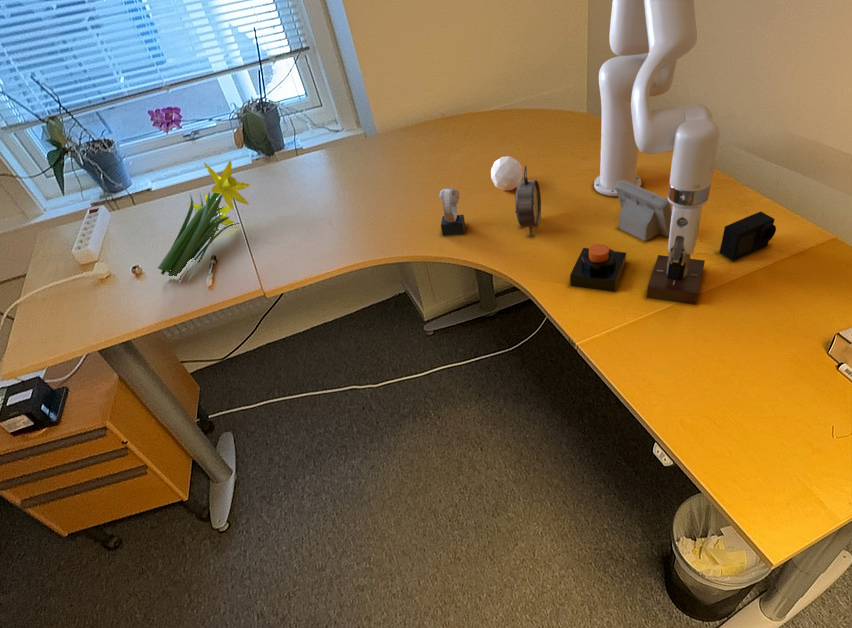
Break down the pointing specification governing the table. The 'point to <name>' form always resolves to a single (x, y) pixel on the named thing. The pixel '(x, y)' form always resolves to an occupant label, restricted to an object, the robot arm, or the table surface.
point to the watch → (451, 213)
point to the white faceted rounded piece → (506, 173)
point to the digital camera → (747, 235)
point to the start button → (598, 253)
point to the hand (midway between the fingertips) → (677, 271)
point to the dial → (687, 260)
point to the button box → (598, 271)
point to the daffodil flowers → (203, 222)
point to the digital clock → (643, 211)
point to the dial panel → (675, 282)
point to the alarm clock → (528, 203)
